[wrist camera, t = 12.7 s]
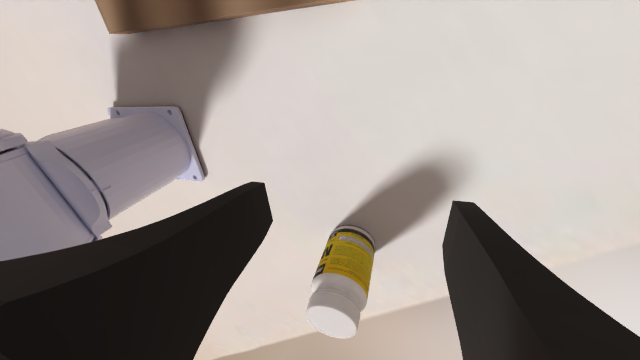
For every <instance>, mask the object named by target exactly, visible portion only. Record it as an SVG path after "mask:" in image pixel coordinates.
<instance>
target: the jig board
mask: <svg viewBox="0 0 640 360" xmlns="http://www.w3.org/2000/svg"><path fill="white" fill-rule="evenodd" d="M346 1H353V0H95V2H96V4H97V6H98V9H99V11H100V13H101V15H102V18H103V20H104V22H105V25H106V27H107V29H108V31H109V34H131V33H138V32H144V31H151V30H158V29H164V28H171V27H178V26H185V25H191V24H198V23H205V22H212V21H218V20H225V19H232V18H238V17H245V16H252V15H259V14H265V13H272V12H279V11H285V10H292V9H299V8H306V7H312V6H319V5H326V4H333V3H339V2H346Z"/></svg>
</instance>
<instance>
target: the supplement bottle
mask: <svg viewBox="0 0 640 360" xmlns="http://www.w3.org/2000/svg"><path fill="white" fill-rule="evenodd" d="M374 253H375V244H374V241H373V239H372V237H371V236H370V235H369V234H368V233H367V232H365V231H364V230H362V229H360V228H357V227H353V226H342V227H338V228H336V229H335V230H334V231H333V232H332V233H331V235H330V237H329V239H328V242H327V245H326V247H325V250H324V252H323V255H322V257H321V260H320V263H319V265H318V268H317V270H316V273H315V275H314V278H313V281H312V284H311V291H312V295H311V297H310V299H309V303H308V307H307V310H306V318H307V320H308V322H309V323H310V324H311V325H312V326H313V327H314V328H315V329H317V330H318V331H320V332H321V333H323V334H326V335H328V336H331V337H335V338H350V337H352V336H354V335H355V334H356V332H357V329H358V324H359V319H360V312H361V311H362V310H363V309H364V308H365V306H366V303H367V298H368V291H369V285H370V278H371V272H372V266H373V259H374Z"/></svg>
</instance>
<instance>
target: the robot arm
mask: <svg viewBox="0 0 640 360" xmlns="http://www.w3.org/2000/svg"><path fill="white" fill-rule="evenodd" d="M171 112H172V113H171ZM108 113H109V115H110V117H111V118H110V119H107V120H103V121H99V122H96V123H92V124H88V125H84V126H81V127H77V128H73V129H70V130H66V131H62V132H58V133H55V134H51V135H48V136H45V137H43V138H41V139H39V140H38V141H33V142H28V141H27V140H26V138H25V137H24V136H23V135H22V134H21V133H13V132H11V131H7V130H4V129H0V360H193V359H194V356H195V354H196V352H197V350H198V348H199V346H200V344H201V342H202V340H203V338H204V336H205V334H206V332H207V330H208V328H209V326H210V324H211V322H212V321H213V319H214V317H215V315H216V313H217V311H218V310H219V308H220V306H221V304H222V302H223V300H224V299H225V297H226V295H227V294H228V292H229V290H230V289H231V287H232V286H233V284H234V283H235V281H236V280H237V278H238V277H239V275H240V274H241V272H242V271H243V270H244V268H245V267H246V265H247V264H248V262H249V261H250V259H251V258H252V256H253V255H254V254H255V252H256V251H257V249H258V248H259V246H260V245H261V243H262V241H263V240H264V238H265V236H266V234H267V232H268V230H269V228H270V226H271V224H272V222H273V219H272V214H271V210H270V206H269V201H268V197H267V192H266V188H265V184H264V183H261V182H250V183H247V184H244V185H242V186H239V187H237V188H234V189H232V190H230V191H228V192H226V193H223V194H221V195H219V196H217V197H215V198H213V199H210V200H208V201H206V202H204V203H202V204H199V205H197V206H195V207H192V208H190V209H188V210H185V211H183V212H181V213H178V214H176V215H174V216H171V217H169V218H166V219H163V220H161V221H158V222H155V223H152V224H149V225H147V226H144V227H141V228H138V229H135V230H131V231H128V232H125V233H121V234H118V235H114V236H111V237H108V238H104V239H102V236H101V234H102V233H104V232H105V231H107V230H108V229H110V228H111V227H112V225H111V223H110V222H109V220H110V219H111V218H113V217H115V216H116V215H118V214H120V213H121V212H123V211H124V210H126V209H128V208H129V207H131V206H133V205H134V204H136V203H138V202H139V201H141V200H142V199H144V198H146V197H147V196H149V195H151V194H152V193H154V192H156V191H157V190H159V189H161V188H162V187H164V186H165V185H167V184H169V183H170V182H172V181H174V180H175V179H180V180H190V181H200V182H201V181H203V180H204V179H205V176H204V174H203V171H202V168H201V165H200V163H199V160H198V157H197V155H196V152H195V149H194V146H193V144H192V141H191V138H190V135H189V133H188V130H187V127H186V124H185V122H184V119H183V116H182V113H181V111H180V109H179V108H178V107H176V106H153V107H111V108H108ZM442 247H443V260H444V270H445V276H446V281H447V286H448V290H449V295H450V299H451V304H452V308H453V312H454V317H455V321H456V326H457V330H458V335H459V340H460V345H461V350H462V356H463V360H640V337H639V336H637V335H636V334H635V333H633V332H632V331H630V330H629V329H627V328H626V327H624V326H623V325H622V324H620V323H619V322H617V321H616V320H614V319H613V318H612V317H610V316H609V315H608V314H606V313H605V312H603V311H602V310H601V309H599V308H598V307H597V306H595V305H594V304H593V303H591V302H590V301H588V300H587V299H586V298H584V297H583V296H582V295H580V294H579V293H577V292H576V291H575V290H574V289H572V288H571V287H570V286H568V285H567V284H566V283H564V282H563V281H562V280H561V279H560V278H558V277H557V276H556V275H555V274H553V273H552V272H551V271H550V270H549V269H547V268H546V267H545V266H544V265H542V264H541V263H540V262H539V261H538V260H536V259H535V258H534V257H533V256H532V255H530V254H529V253H528V252H527V251H526V250H525V249H524V248H522V247H521V246H520V245H519V244H518V243H517V242H516V241H515V240H513V239H512V238H511V237H510V236H509V235H508V234H507V233H506V232H505V231H504V230H503V229H502V228H500V227H499V226H498V225H497V224H496V223H495V222H494V221H493V220H492V219H491V218H490V217H489V216H488V215H487V214H486V213H485V212H484V211H482V210H481V209H480V208H479V207H478V206H477V205H476V204H475V203H473V202H462V201H453V202H452V207H451V211H450V215H449V220H448V224H447V228H446V232H445V237H444V241H443V245H442Z"/></svg>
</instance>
